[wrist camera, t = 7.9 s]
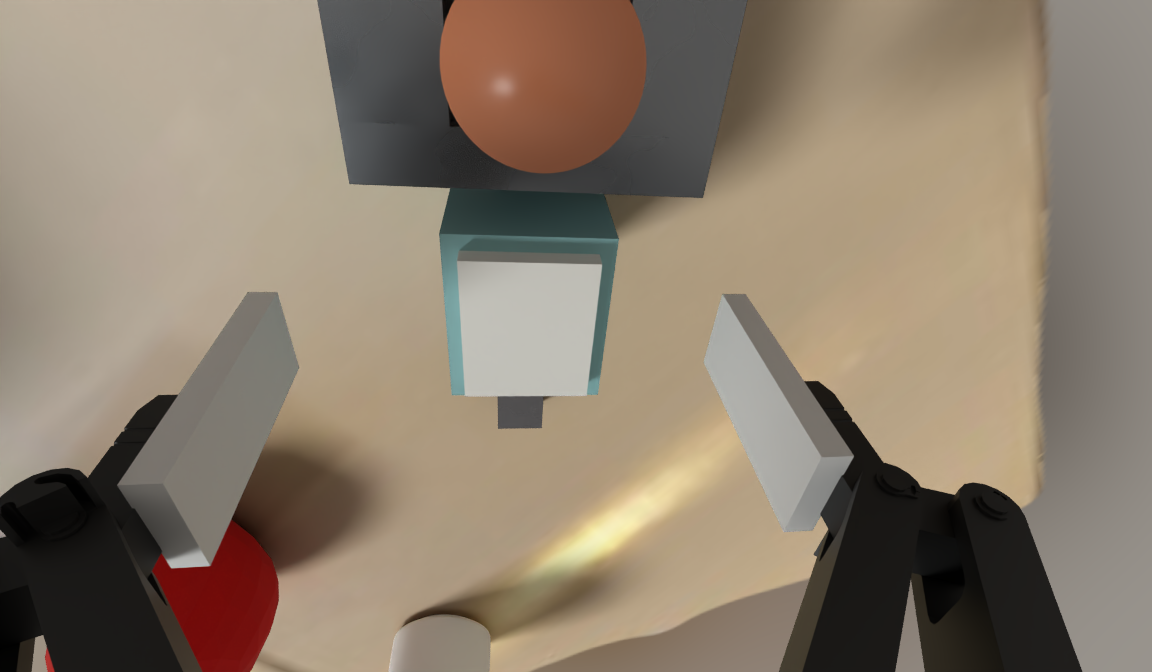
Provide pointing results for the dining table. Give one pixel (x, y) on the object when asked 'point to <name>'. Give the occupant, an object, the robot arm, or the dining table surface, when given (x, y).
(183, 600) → the tomato
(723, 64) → the grey box
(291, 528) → the dining table surface
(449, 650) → the beverage can
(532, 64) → the plunger
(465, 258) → the block
